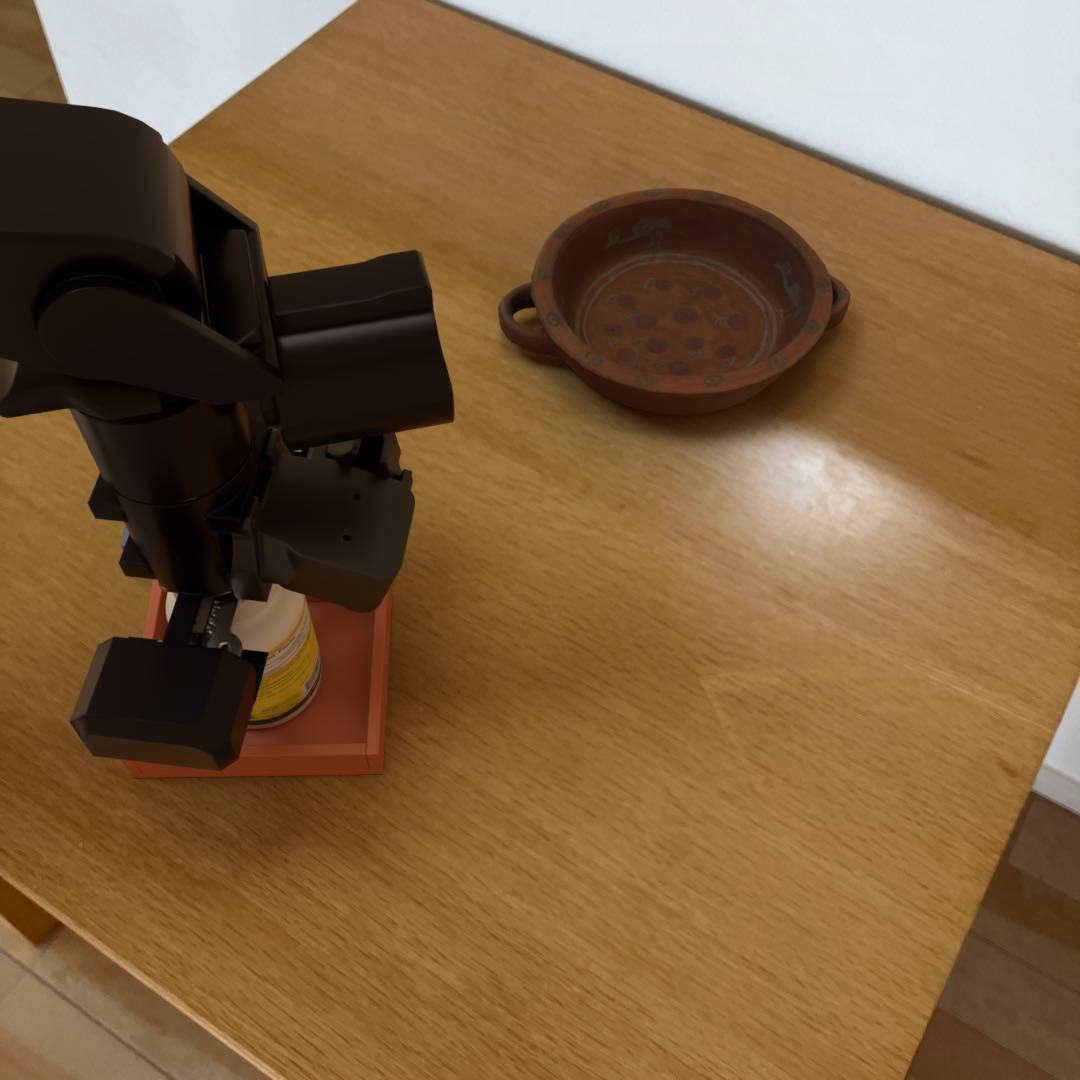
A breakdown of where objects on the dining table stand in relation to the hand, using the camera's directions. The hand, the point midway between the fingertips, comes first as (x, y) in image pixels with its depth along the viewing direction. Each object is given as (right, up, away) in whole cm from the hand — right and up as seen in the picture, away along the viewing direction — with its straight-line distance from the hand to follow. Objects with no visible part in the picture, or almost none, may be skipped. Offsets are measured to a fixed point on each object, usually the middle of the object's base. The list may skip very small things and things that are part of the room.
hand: (251, 644), depth 56 cm
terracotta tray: (0, -2, +4) cm, 4 cm away
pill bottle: (0, -2, +3) cm, 4 cm away
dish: (+22, +18, +18) cm, 34 cm away
